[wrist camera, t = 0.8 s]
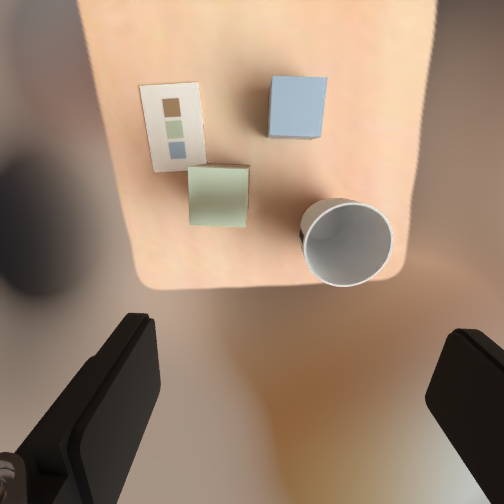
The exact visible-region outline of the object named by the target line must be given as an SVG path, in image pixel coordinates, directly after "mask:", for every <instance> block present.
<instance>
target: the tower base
mask: <svg viewBox="0 0 504 504" xmlns="http://www.w3.org/2000/svg"><path fill="white" fill-rule="evenodd" d="M249 176H250V165H234V164H211V163H207V164H201V165H195V166H189V167H188V191H189V219H190V225H199V226H221V227H244V228H245V227H246V220H247V213H248V203H249Z"/></svg>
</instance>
